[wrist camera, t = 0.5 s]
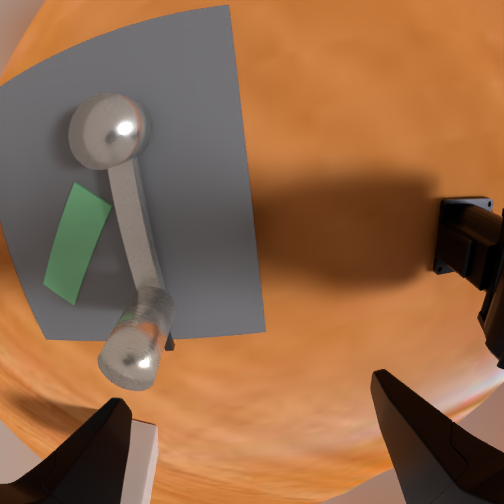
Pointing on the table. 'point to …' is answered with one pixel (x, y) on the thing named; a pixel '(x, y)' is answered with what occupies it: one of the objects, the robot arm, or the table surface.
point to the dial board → (152, 175)
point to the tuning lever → (127, 234)
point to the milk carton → (140, 464)
